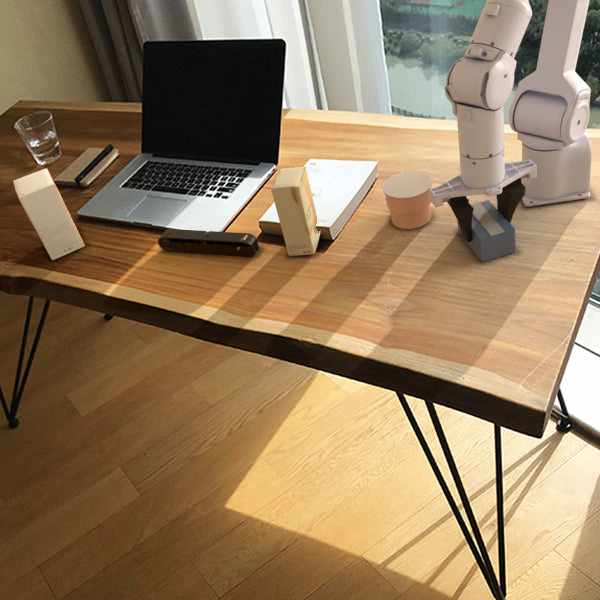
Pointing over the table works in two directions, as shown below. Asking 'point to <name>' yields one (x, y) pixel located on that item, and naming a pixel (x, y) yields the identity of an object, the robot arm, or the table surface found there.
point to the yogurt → (408, 198)
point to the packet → (490, 232)
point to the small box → (48, 213)
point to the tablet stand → (209, 242)
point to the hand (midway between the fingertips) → (485, 232)
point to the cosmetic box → (296, 210)
